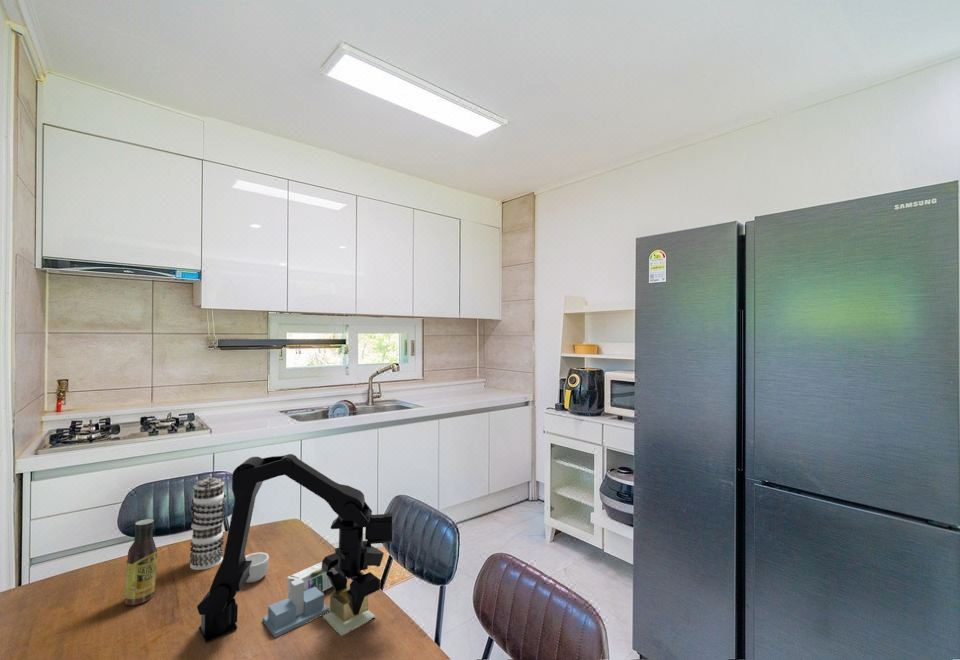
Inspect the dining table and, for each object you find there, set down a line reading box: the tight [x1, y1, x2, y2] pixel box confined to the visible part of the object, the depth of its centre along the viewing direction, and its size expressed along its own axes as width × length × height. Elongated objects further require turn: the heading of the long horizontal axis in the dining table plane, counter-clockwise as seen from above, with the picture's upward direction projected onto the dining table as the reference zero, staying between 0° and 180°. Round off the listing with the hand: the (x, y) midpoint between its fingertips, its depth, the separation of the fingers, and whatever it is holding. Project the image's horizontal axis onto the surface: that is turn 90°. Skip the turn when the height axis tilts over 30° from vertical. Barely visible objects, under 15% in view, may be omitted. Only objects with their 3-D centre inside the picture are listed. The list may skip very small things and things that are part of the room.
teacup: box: [245, 551, 270, 584], centre depth 122 cm, size 10×8×5 cm
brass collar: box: [329, 585, 369, 622], centre depth 105 cm, size 7×7×4 cm
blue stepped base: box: [262, 578, 330, 638], centre depth 105 cm, size 13×8×8 cm, turn 136°
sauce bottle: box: [123, 518, 158, 606], centre depth 111 cm, size 6×6×20 cm
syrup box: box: [286, 561, 333, 600], centre depth 116 cm, size 6×6×14 cm
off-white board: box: [322, 609, 376, 636], centre depth 105 cm, size 9×9×1 cm
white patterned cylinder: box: [189, 476, 227, 571], centre depth 130 cm, size 9×9×25 cm
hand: (349, 608), depth 105 cm, fingers closed on brass collar, 6 cm apart
